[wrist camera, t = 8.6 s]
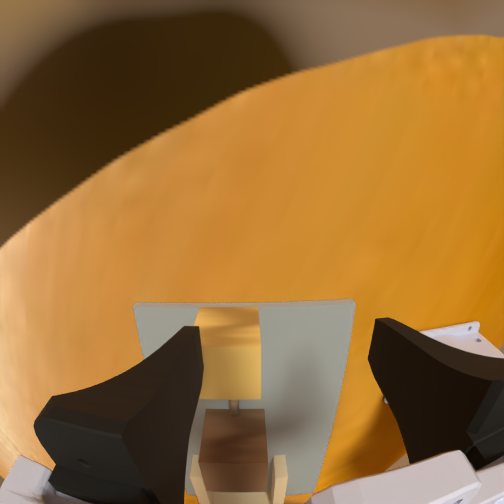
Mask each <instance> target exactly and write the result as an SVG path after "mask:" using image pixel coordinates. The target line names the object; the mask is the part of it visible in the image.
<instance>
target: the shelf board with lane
mask: <svg viewBox="0 0 504 504" xmlns="http://www.w3.org/2000/svg"><path fill="white" fill-rule="evenodd" d="M355 304H356V303H355V302H354V300H353V299H339V300H319V301H296V302H264V303H145V302H136V304H135V305H134V306H133V309H134V314H135V320H136V325H137V330H138V334H139V339H140V344H141V348H142V353H143V357H144V359H146V358H147V357H148V356H150V355H151V354H152V353H154V352H155V351H156V350H157V349H159V348H160V347H161V346H162V345H163V344H164V343H166V342H167V341H168V340H169V339H170V338H171V337H172V336H173V335H175V334H176V333H177V332H178V331H179V330H180V329H181V328H182V327H183V326H194V324H195V320H196V317H197V314H198V311H199V308H200V307H249V306H258V312H259V325H260V338H261V399H250V400H239V409H265V423H266V438H267V452H268V478H267V492H216V491H206V488H205V484H204V481H203V477H202V474H201V470H200V467H199V463H198V460H199V453H200V446H201V439H202V432H203V425H204V419H205V412H206V409H230V406H229V400H220V399H199V400H198V404H197V408H196V412H195V416H194V420H193V424H192V428H191V432H190V438H189V446H188V454H187V464H186V475H185V489H186V491H187V494H188V495H197V498H198V501H199V503H200V504H284V499H285V496H287V495H298V494H307V493H314V490H315V487H316V484H317V481H318V478H319V474H320V471H321V468H322V464H323V461H324V457H325V454H326V450H327V447H328V443H329V439H330V435H331V431H332V427H333V423H334V419H335V415H336V411H337V406H338V402H339V397H340V393H341V388H342V383H343V378H344V373H345V368H346V362H347V357H348V351H349V345H350V339H351V333H352V326H353V319H354V312H355Z"/></svg>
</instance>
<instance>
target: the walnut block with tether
mask: <svg viewBox="0 0 504 504" xmlns="http://www.w3.org/2000/svg"><path fill="white" fill-rule="evenodd" d="M194 326H199V329H200V338H201V347H202V355H203V363H204V372H203V381H202V388H201V392H200V396H199V399H220V400H229V406H230V409H206V412H205V419H204V425H203V432H202V439H201V446H200V453H199V460H198V463H199V467H200V470H201V474H202V477H203V481H204V484H205V488H206V491H216V492H267V478H268V452H267V438H266V423H265V409H239V400H250V399H261V338H260V325H259V312H258V306H249V307H200V308H199V311H198V314H197V317H196V320H195V324H194Z"/></svg>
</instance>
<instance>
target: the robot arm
mask: <svg viewBox="0 0 504 504" xmlns="http://www.w3.org/2000/svg"><path fill="white" fill-rule="evenodd" d="M479 326H480V323H479V322H477V321H474V322H469V323H464V324H459V325H454V326H449V327H443V328H438V329H432V330H425V331H419V332H418V331H416V330H414V329H412V328H410V327H408V326H406V325H404V324H402V323H400V322H398V321H396V320H394V319H391V318H378V319H375V325H374V330H373V335H372V341H371V346H370V350H369V355H368V361H369V364H370V367H371V370H372V372H373V375H374V378H375V380H376V382H377V383H378V385H379V387H380V389H381V391H382V393H383V395H384V397H385V398H384V402H385V403H386V404H389V406H390V408H391V410H392V412H393V414H394V416H395V418H396V420H397V423H398V426H399V429H400V431H401V434H402V437H403V441H404V444H405V447H406V451H407V454H408V458H409V463H410V464H409V465H406V466H403V467H399V468H396V469H392V470H389V471H385V472H381V473H377V474H373V475H368V476H364V477H359V478H354V479H351V480H348V481H344V482H341V483H337V484H334V485H331V486H329V487H327V488H325V489H323V490H321V491H319V492H317V493H315V494H313V495H312V496H311V497H310V499H309V500H308V501H307V502H306V503H305V504H504V355H503V354H502V353H501V352H500V351H499V350H498V349H497V348H496V347H495V346H493V345H492V344H491V343H490V342H489V341H488V340H487V339H486V338H484V337H483V336H482V335H481V334H480V333H479V332H478V330H479ZM203 372H204V363H203V355H202V347H201V338H200V329H199V326H183V327H182V328H181V329H180V330H179V331H178V332H177V333H176V334H175V335H173V336H172V337H171V338H170V339H169V340H168V341H167V342H166V343H164V344H163V345H162V346H161V347H160V348H159V349H157V350H156V351H155V352H154V353H152V354H151V355H150V356H148V357H147V358H146V359H144V360H143V361H142V362H140V363H139V364H137V365H136V366H134V367H132V368H131V369H129V370H127V371H125V372H124V373H122V374H120V375H118V376H115V377H113V378H111V379H109V380H107V381H105V382H102V383H100V384H97V385H94V386H92V387H89V388H85V389H82V390H79V391H75V392H70V393H66V394H61V395H56V396H52V397H51V398H50V400H49V401H48V403H47V404H46V405H45V407H44V408H43V410H42V411H41V413H40V414H39V416H38V417H37V418H36V420H35V422H34V430H35V433H36V436H37V437H38V439H39V441H40V443H41V444H42V446H43V447H44V448H45V450H46V451H47V453H48V454H49V455H50V457H51V458H52V460H53V461H54V462H55V464H56V466H55V468H54V470H53V471H52V470H50V469H49V468H48V467H46V466H44V465H42V464H40V463H38V462H35V461H33V460H31V459H28V458H26V457H24V456H21V455H19V457H18V458H17V460H16V462H15V463H14V465H13V467H12V468H11V470H10V472H9V473H8V475H7V477H6V479H5V480H4V482H3V484H2V486H1V488H0V504H184V491H185V475H186V464H187V454H188V446H189V438H190V432H191V428H192V424H193V420H194V416H195V412H196V408H197V404H198V400H199V396H200V392H201V388H202V381H203Z"/></svg>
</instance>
